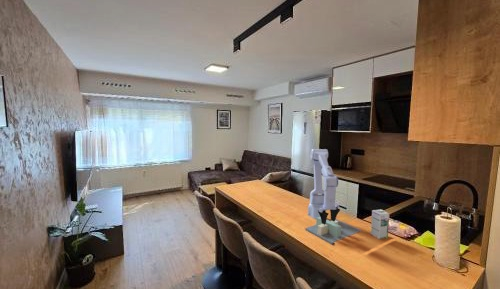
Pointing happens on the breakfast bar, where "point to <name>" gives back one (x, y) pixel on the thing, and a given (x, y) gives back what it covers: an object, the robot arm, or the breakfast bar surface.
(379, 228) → the syrup box
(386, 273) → the breakfast bar surface
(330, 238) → the slotted base
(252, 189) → the breakfast bar surface
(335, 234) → the cross plate
